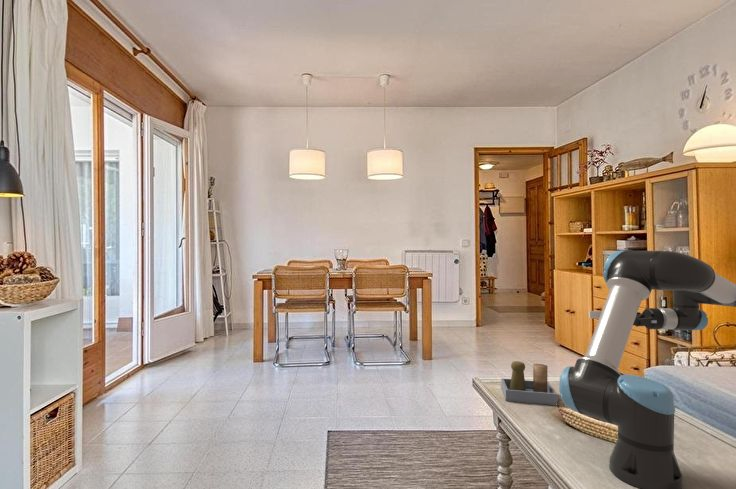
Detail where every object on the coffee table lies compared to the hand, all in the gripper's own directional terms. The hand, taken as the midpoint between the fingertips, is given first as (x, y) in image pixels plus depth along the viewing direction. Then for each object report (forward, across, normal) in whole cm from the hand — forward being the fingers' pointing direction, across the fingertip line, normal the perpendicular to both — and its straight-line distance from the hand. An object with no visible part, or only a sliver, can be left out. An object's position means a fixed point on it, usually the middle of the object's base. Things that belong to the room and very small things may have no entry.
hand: (598, 317), depth 152 cm
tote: (+22, +8, -32) cm, 40 cm away
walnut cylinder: (+18, +8, -31) cm, 36 cm away
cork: (+25, +12, -31) cm, 42 cm away
